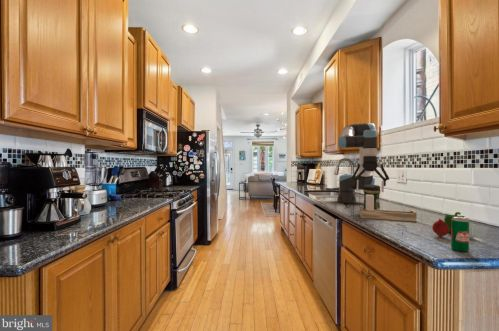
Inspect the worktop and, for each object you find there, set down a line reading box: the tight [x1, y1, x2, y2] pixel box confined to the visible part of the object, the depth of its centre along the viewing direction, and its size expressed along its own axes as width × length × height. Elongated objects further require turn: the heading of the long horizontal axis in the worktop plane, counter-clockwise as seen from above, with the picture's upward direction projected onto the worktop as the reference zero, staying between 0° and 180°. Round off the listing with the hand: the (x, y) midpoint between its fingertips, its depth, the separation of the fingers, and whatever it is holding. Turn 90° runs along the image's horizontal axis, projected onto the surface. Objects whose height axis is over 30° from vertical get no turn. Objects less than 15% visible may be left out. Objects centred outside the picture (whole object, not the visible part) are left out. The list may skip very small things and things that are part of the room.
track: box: [359, 206, 418, 222], centre depth 146 cm, size 10×28×5 cm, turn 71°
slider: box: [366, 195, 374, 211], centre depth 149 cm, size 4×4×10 cm
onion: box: [432, 218, 450, 238], centre depth 108 cm, size 6×6×8 cm
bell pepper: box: [443, 211, 465, 234], centre depth 114 cm, size 8×8×10 cm
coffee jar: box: [362, 184, 381, 210], centre depth 159 cm, size 10×8×19 cm
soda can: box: [450, 215, 470, 253], centre depth 91 cm, size 5×5×12 cm
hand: (369, 191), depth 149 cm, fingers open, 13 cm apart
